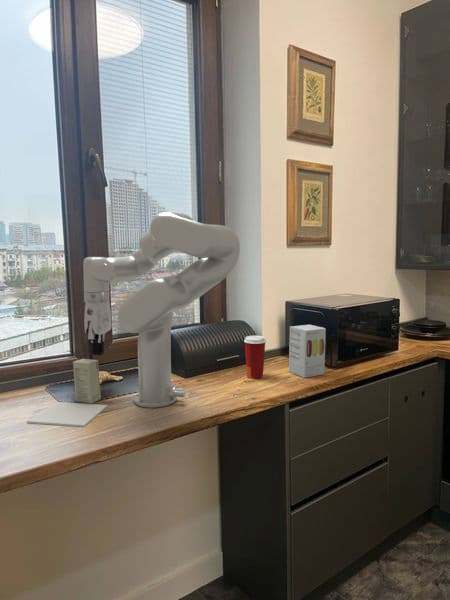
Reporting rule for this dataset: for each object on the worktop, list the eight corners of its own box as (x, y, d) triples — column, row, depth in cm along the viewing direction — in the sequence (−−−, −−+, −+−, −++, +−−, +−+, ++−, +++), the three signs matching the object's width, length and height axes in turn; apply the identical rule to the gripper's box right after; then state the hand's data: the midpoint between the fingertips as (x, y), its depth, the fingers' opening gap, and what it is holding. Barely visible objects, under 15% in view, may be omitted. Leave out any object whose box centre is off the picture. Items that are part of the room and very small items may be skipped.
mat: (107, 406, 125) (107, 405, 125) (84, 426, 111) (84, 425, 111) (55, 403, 127) (55, 402, 127) (26, 422, 114) (26, 421, 114)
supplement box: (304, 378, 150) (305, 330, 148) (287, 371, 159) (288, 326, 156) (325, 374, 155) (326, 327, 153) (308, 368, 163) (309, 323, 161)
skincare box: (101, 399, 131) (99, 360, 129) (91, 404, 127) (89, 363, 125) (84, 396, 133) (83, 357, 132) (74, 401, 129) (72, 361, 128)
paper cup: (269, 375, 154) (270, 336, 152) (259, 381, 148) (259, 340, 146) (250, 372, 158) (250, 334, 156) (239, 377, 152) (239, 338, 150)
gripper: (97, 300, 127) (98, 361, 130) (118, 294, 142) (118, 349, 144) (73, 299, 128) (75, 360, 131) (96, 293, 143) (97, 347, 146)
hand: (98, 354), depth 138 cm, fingers closed
